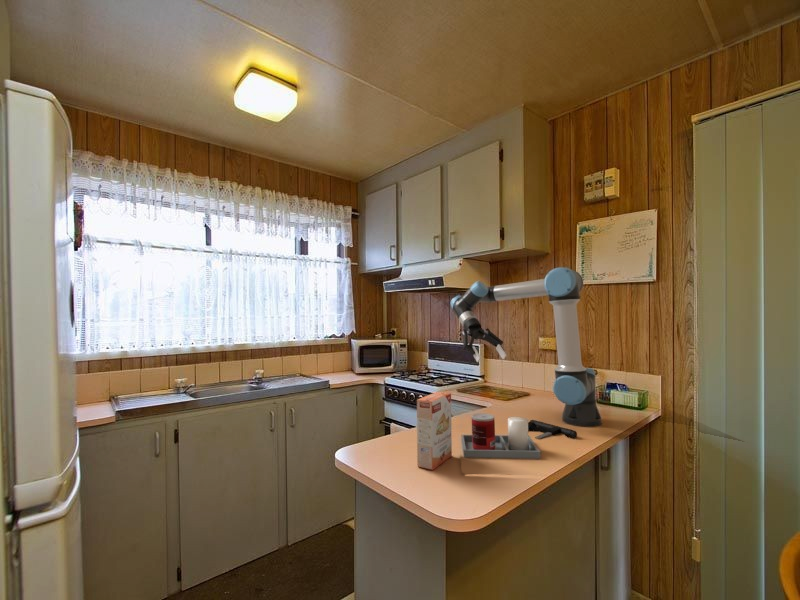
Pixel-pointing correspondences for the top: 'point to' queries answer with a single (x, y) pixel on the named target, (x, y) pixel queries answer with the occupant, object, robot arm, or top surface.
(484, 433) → the canned food
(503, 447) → the caddy
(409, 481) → the top surface
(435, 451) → the cracker box
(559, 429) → the toy submachine gun
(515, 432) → the ceramic jar
